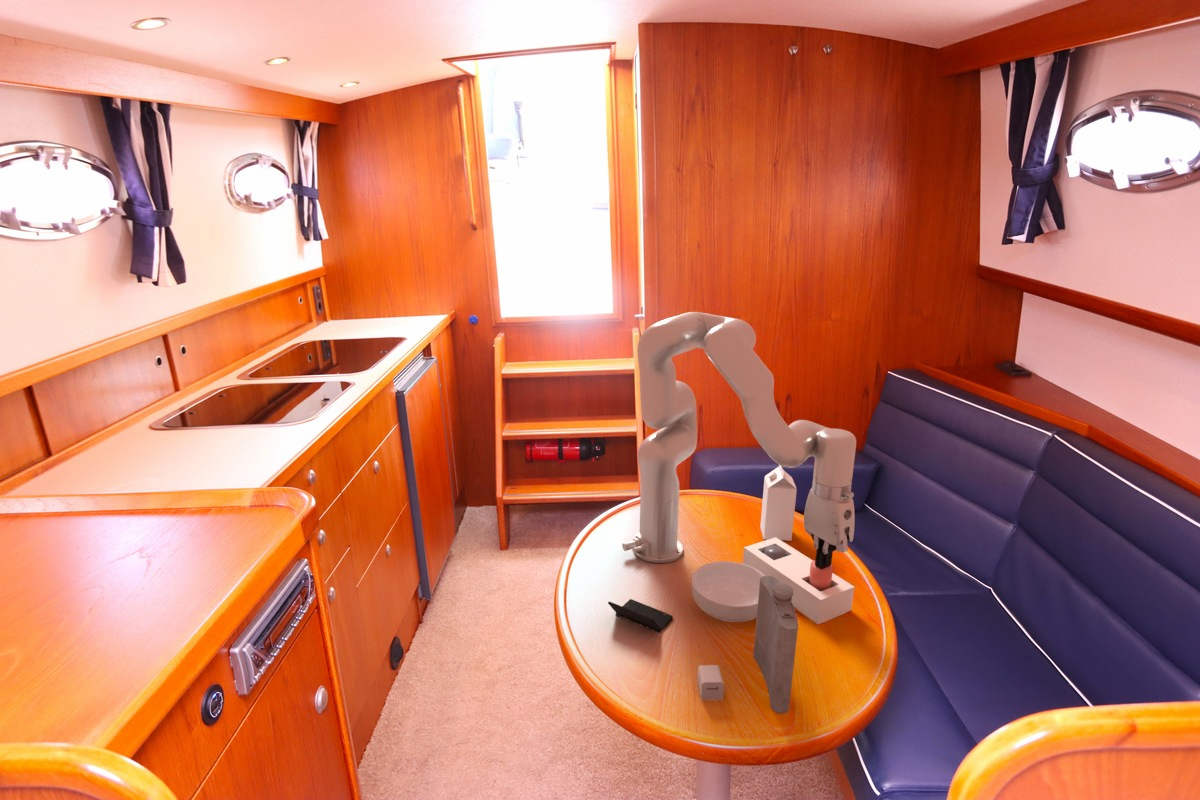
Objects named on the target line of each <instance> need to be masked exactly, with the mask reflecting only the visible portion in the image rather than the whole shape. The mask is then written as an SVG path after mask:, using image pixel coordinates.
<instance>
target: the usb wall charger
mask: <svg viewBox="0 0 1200 800" xmlns="http://www.w3.org/2000/svg"><path fill="white" fill-rule="evenodd" d="M696 679H697V685H698V690H699V694H700V699H701V701H722V700H723V698H724V692H725V682H724V681H723V676H722V672H721V668H720V666H719V665H717V664H713V663H712V662H711V664H703V665H702V663H700V665H699V666H698V667H697V678H696Z"/></svg>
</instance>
